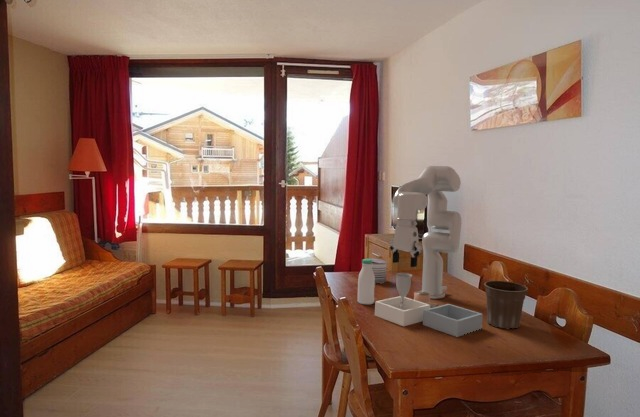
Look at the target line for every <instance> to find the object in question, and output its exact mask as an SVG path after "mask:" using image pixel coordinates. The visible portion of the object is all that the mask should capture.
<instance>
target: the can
mask: <svg viewBox="0 0 640 417" xmlns="http://www.w3.org/2000/svg"><path fill="white" fill-rule="evenodd" d="M370 259H371V260H372V270H373V273H374V276H375V284H376V283H380V284H385V283H386V282H387V261H386V260H383V259H377V258H370ZM384 282H385V283H384Z"/></svg>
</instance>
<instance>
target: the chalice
mask: <svg viewBox="0 0 640 417" xmlns="http://www.w3.org/2000/svg"><path fill="white" fill-rule="evenodd" d="M412 277H413V274H411V273H407V272H397V273H395V278H396V284H395V285H396V290H397V292H398V294H399V296H401V297H402V300H401V303H402V304H401V310H404V309H403V308H404V302H405V301H404V297H407V295H408V294H409V292H410V290H411V288H412V287H411V286H412V285H411V283H412V282H411V281H412Z"/></svg>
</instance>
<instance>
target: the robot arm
mask: <svg viewBox="0 0 640 417" xmlns="http://www.w3.org/2000/svg"><path fill="white" fill-rule="evenodd" d="M460 188H461V177H460V175H459V174H458V172H456V170H455V169H454V168H453V167H451V166H448V165H430V166H426V167H425V168H424V169H423V170H422V172H421V173H420V174H419V176H418V177H417V178H416V179H413V180H411V181H409V182H406V183H404V184H402V185H401V186H399V188H398V189H397V190H396V191H395V193H394V195H393V197H392V198H393V199H392V202H393V206H394V207H395V208H396V209H397V212H396V213H397V214H396V225H395V227H394V228H395V230H394V236H393V239H391V240H390V241H388V244H389V249H390V250H391V254H392V264H395V263H399V262H400V251H403V252H406V253H407V252H408V253H410V255H411V257H410V265H409V266H410V267H411V268H415V267H417V266H418V257H419V256H420V255H421V254H422V252H423V254H422V255H423V257H422V258H423V259H422V261H423V262H422V276H421V277H422V278H421V290H419V291H418V292H427V293H430V299H436V300H437V299H444V298H445V296H446V294H445V293H444V291H447V289H448V287H447V286H446V285H444V286H443V273H444V260H443V257H442V255H441V253H443V254H456V253H457V252H459V249H460V242H461V241H460V240H461V232H462V216H461V213H460V212H458V211H456V210H448V198H447V197H446V195H445V194H444V192H448V193H449V192H451V193H455V192H457V191H458V190H460ZM427 195H428V196H427ZM428 205H429V206H428ZM427 206H428V214H427V216H428V217H427V225H428V228H430V229H432V230H433V229H434V230H440V231H427V232H425V233H424V234H423V235H422V238H421V239H422V240H421V242H422V245H420V243H419V232H418V227H416V226H417V225H418V222H417V221H416V220H417V211H423V210H425V209H427ZM441 231H449V232H441Z"/></svg>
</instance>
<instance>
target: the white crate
mask: <svg viewBox="0 0 640 417" xmlns="http://www.w3.org/2000/svg"><path fill="white" fill-rule="evenodd" d="M401 300H402V297H401V296H400V295H399V296H395V297H389V298H384V299H381V300H376V301H375V300H374V304H375V305H374V317H378V318H380V319H382V320H385V321H388V322H390V323H393V324H396V325H399V326H401V327H406V326H410V325H414V324H417V323H421V322H423V311H424V310H426V309H430V305H429V304H426V303H423V302H419V301H416V300H414V298H413V299H412V298H410V297H407V296H406V297H404V301H405V302H404V308H403V309H404V310H401V304H402V303H401Z"/></svg>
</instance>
